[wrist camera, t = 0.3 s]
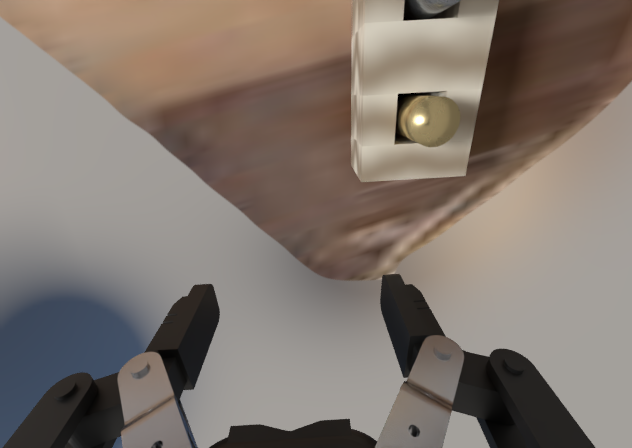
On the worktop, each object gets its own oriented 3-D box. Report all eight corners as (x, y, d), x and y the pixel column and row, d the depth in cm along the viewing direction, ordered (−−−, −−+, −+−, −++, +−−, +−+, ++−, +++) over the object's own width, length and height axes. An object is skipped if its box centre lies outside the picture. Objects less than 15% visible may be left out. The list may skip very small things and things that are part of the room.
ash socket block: (352, -67, 28) (367, -121, 21) (468, -73, 28) (523, -129, 21) (351, 164, 39) (361, 182, 32) (435, 159, 39) (465, 175, 32)
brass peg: (392, 96, 30) (414, 97, 24) (431, 93, 30) (464, 94, 24) (389, 137, 32) (409, 148, 26) (426, 135, 32) (455, 146, 26)
